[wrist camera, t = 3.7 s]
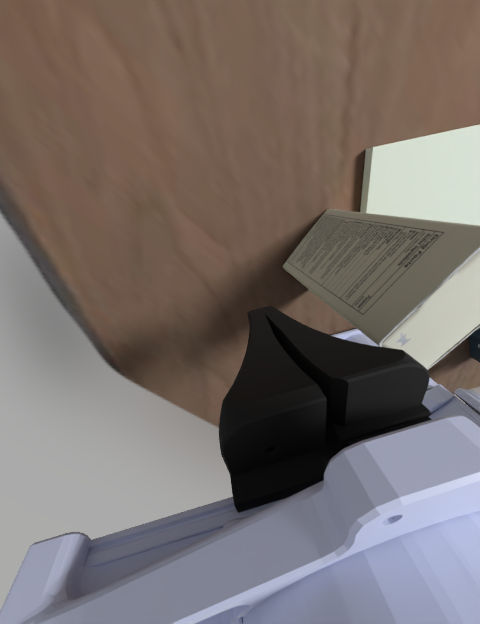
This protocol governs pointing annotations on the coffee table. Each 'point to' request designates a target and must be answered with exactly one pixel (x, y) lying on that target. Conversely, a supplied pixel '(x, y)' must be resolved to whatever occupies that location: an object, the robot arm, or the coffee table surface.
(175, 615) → the robot arm
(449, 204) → the mat
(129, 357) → the coffee table surface
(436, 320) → the skincare box
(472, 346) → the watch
